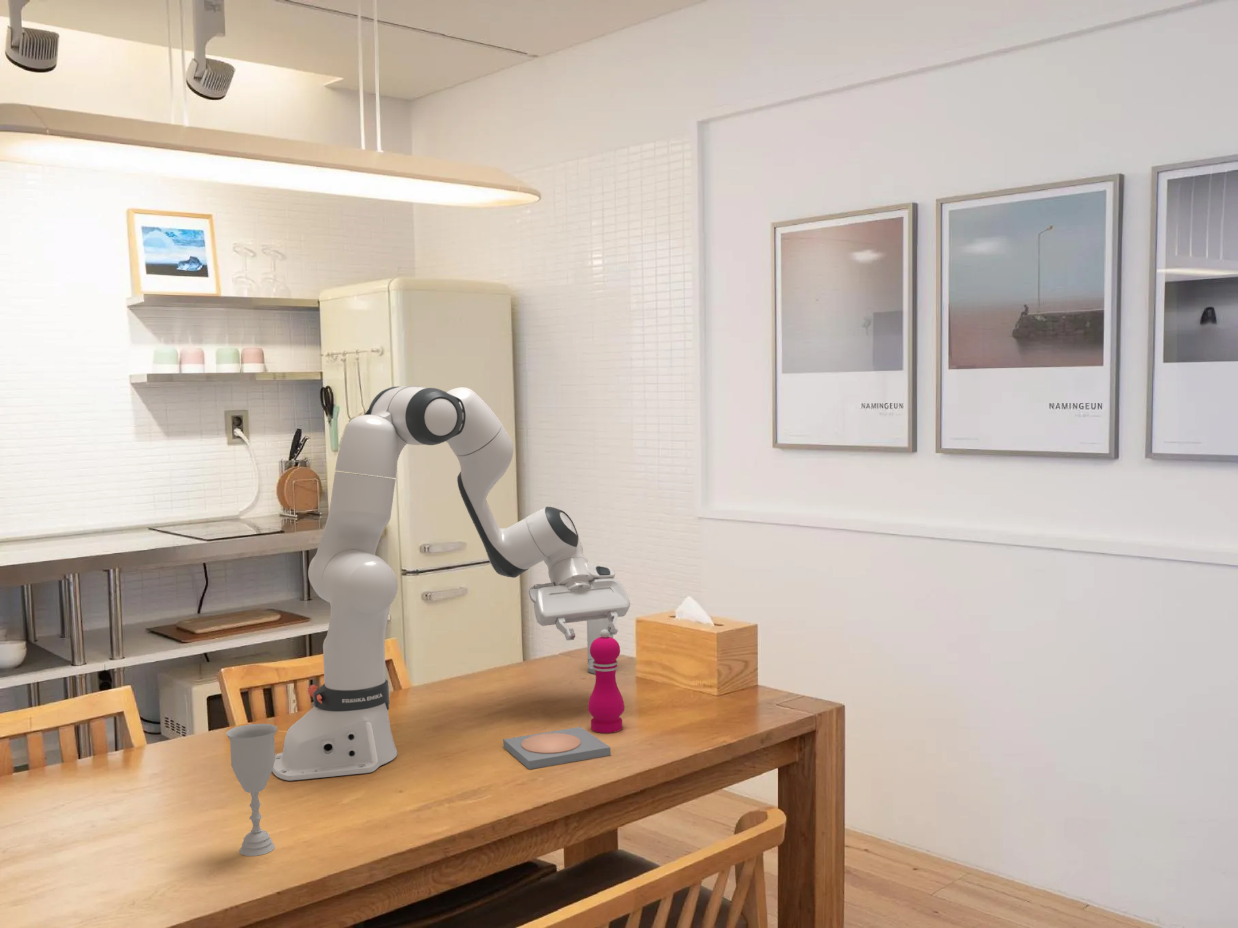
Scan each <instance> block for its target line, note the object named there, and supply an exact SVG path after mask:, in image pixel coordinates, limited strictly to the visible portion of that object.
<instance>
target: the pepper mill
mask: <svg viewBox="0 0 1238 928" xmlns="http://www.w3.org/2000/svg"><path fill="white" fill-rule="evenodd" d="M600 635H601V637H599V638H597V639H595V640H594V641H593V642H592V644H591V646H590V654H591V656H592V658H593V659H594V661H593V669H594V670H595V674H594V675H595V682H594V687H593V690H592V692H591V694H590V696H589V699H588V704H587V705H588V706H587V710H588V713H589V714H590V715H591V716H592V718H591V720H590V729H591V730H592V731H593V732H595V733H598V734H599V733H601V734H611V733H612V734H613V733H616V732H619V731H621V730H622V729H623V719H622V717H621V715H622V714H623V713H624V711H625V701H624V698H623V696H622V693H621V691H620V689H619V687H618V685H617V681H616V679H617V678H616V672H617V670H618V668H619V666H618V663H619V661H618V660H617V658H619V656H620V653H621V647H620V644H619V642H618V641H617V640H616V639H615V638H614V637H613V638H611V637H608V636H609V632H608V630H606V629H603V630H602V631H601V632H600Z"/></svg>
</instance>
